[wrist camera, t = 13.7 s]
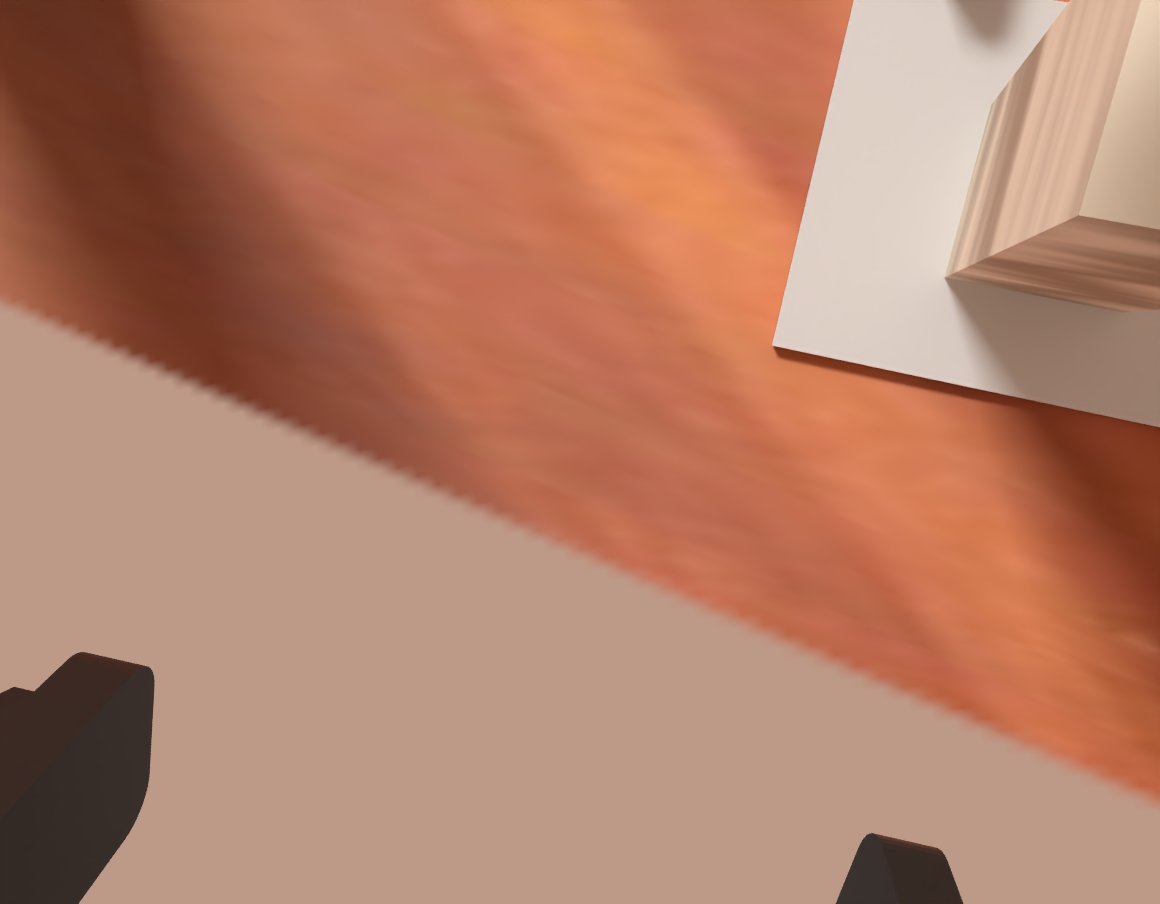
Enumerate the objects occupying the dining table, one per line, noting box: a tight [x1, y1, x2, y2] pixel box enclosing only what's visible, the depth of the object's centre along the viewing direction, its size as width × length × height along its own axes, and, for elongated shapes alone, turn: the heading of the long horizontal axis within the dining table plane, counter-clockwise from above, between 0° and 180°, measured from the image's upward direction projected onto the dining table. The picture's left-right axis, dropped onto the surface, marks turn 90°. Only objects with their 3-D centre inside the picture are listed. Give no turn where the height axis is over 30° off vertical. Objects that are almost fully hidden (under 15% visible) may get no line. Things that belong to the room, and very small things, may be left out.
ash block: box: [945, 0, 1160, 313], centre depth 20 cm, size 5×5×15 cm
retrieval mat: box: [772, 0, 1160, 427], centre depth 28 cm, size 14×11×1 cm
